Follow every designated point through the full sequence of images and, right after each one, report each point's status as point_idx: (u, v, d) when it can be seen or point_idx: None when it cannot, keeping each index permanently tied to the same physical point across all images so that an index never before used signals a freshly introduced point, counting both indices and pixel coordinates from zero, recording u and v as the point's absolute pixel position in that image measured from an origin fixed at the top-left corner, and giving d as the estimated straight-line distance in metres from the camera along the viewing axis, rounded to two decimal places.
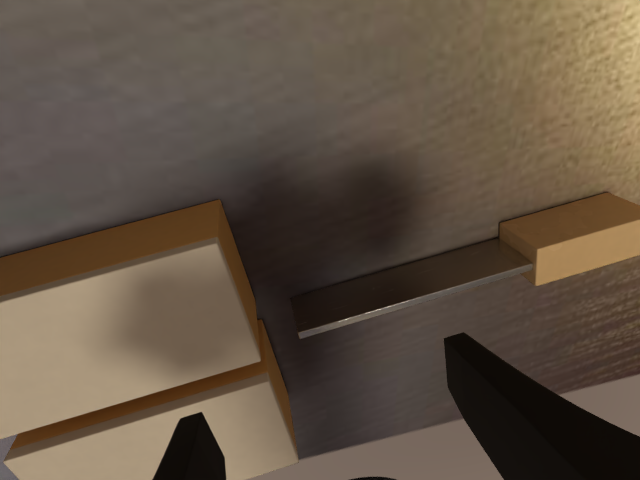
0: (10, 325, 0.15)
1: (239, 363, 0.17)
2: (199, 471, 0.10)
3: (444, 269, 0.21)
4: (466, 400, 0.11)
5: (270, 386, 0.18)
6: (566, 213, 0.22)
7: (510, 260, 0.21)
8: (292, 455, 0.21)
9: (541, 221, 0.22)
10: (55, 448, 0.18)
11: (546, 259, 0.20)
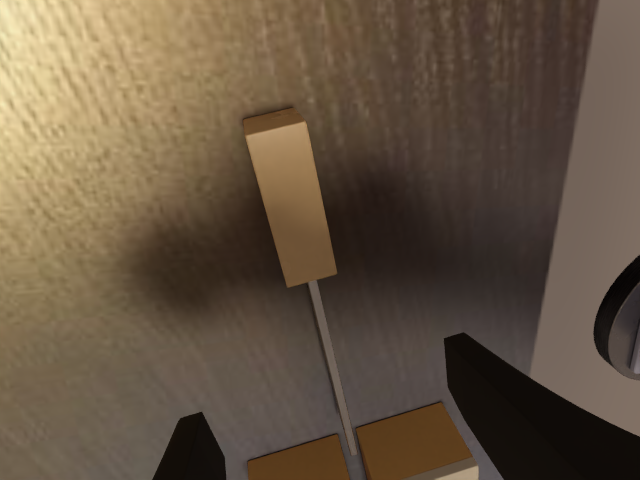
0: None
1: None
2: (199, 471, 0.10)
3: (318, 328, 0.21)
4: (466, 400, 0.11)
5: None
6: None
7: (308, 286, 0.19)
8: (467, 471, 0.23)
9: None
10: None
11: (301, 273, 0.17)
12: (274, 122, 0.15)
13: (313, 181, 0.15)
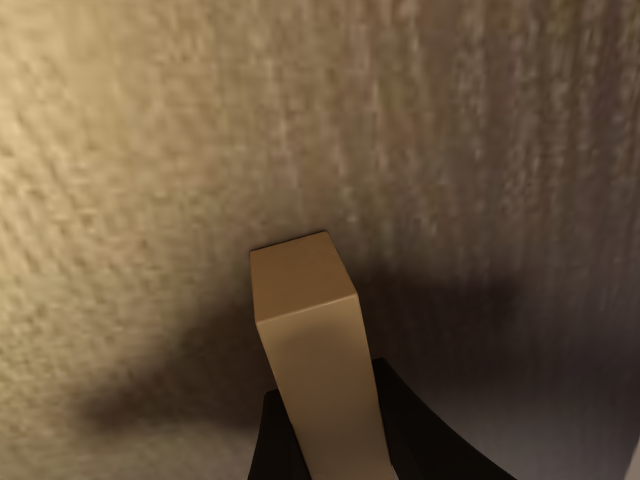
0: None
1: None
2: (295, 441, 0.10)
3: None
4: None
5: None
6: None
7: None
8: None
9: None
10: None
11: None
12: (302, 281, 0.09)
13: (365, 372, 0.10)
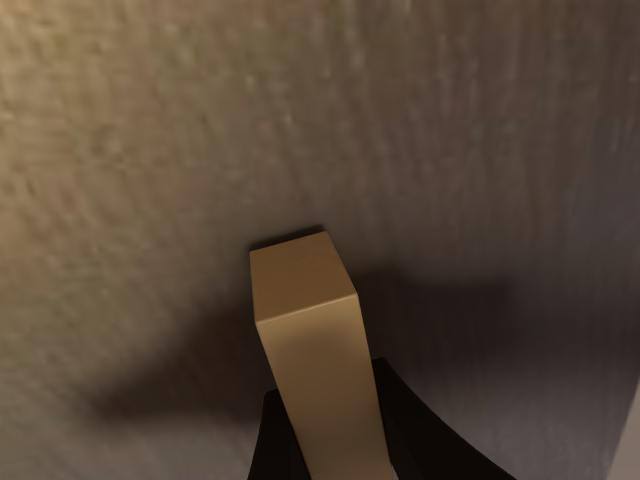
0: None
1: None
2: (295, 441, 0.10)
3: None
4: None
5: None
6: None
7: None
8: None
9: None
10: None
11: None
12: (301, 280, 0.09)
13: (365, 372, 0.10)
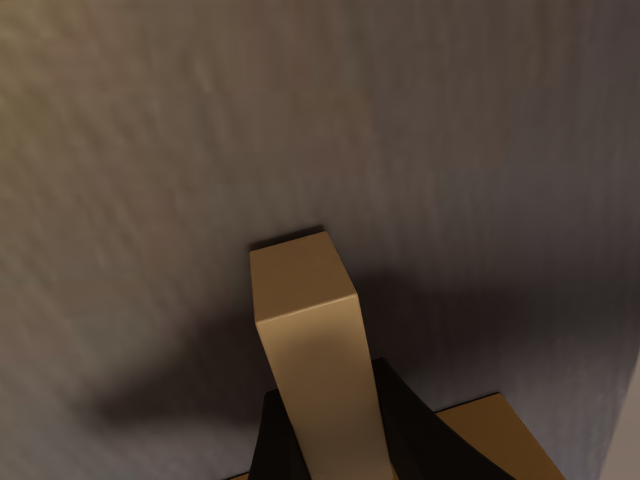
0: None
1: None
2: (295, 441, 0.10)
3: None
4: None
5: None
6: None
7: None
8: None
9: None
10: None
11: None
12: (301, 280, 0.09)
13: (365, 372, 0.10)
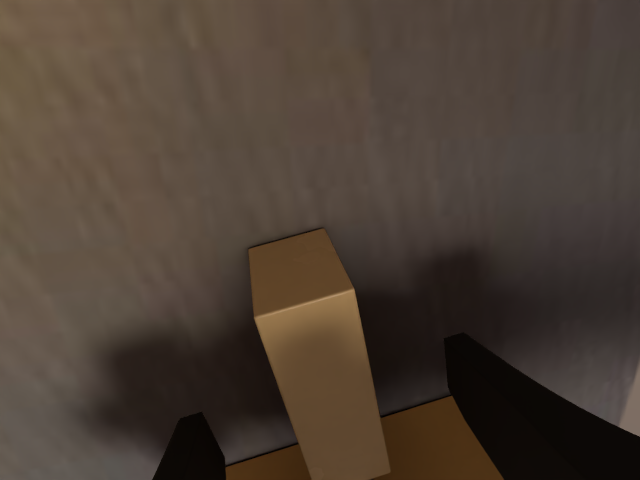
0: None
1: None
2: (199, 471, 0.10)
3: None
4: (466, 400, 0.11)
5: None
6: None
7: None
8: None
9: None
10: None
11: (338, 478, 0.11)
12: (299, 276, 0.10)
13: (362, 366, 0.10)
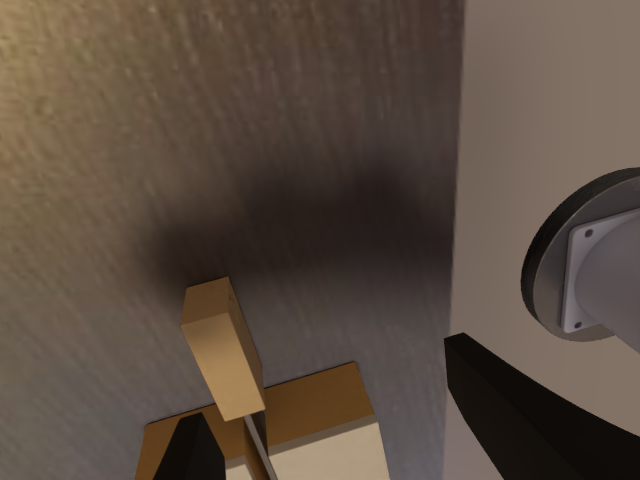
0: None
1: (245, 476, 0.21)
2: (199, 471, 0.10)
3: None
4: (466, 400, 0.11)
5: (275, 453, 0.21)
6: None
7: None
8: (366, 428, 0.22)
9: None
10: None
11: (235, 411, 0.21)
12: (206, 305, 0.19)
13: (238, 349, 0.20)
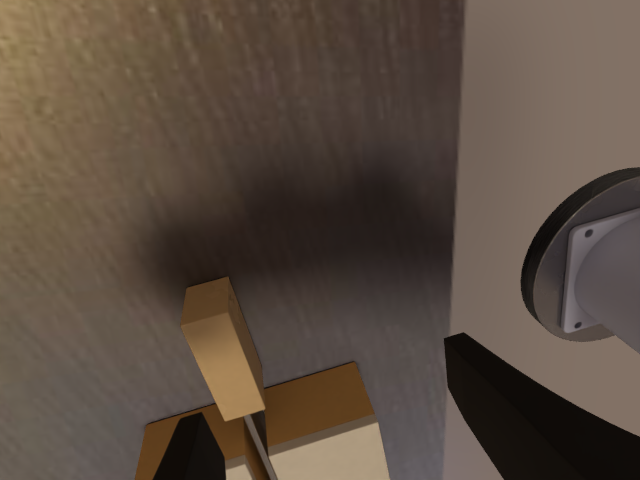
0: None
1: (245, 476, 0.21)
2: (199, 471, 0.10)
3: None
4: (466, 400, 0.11)
5: (275, 453, 0.21)
6: None
7: None
8: (366, 428, 0.22)
9: None
10: None
11: (235, 411, 0.21)
12: (206, 305, 0.19)
13: (238, 349, 0.20)
